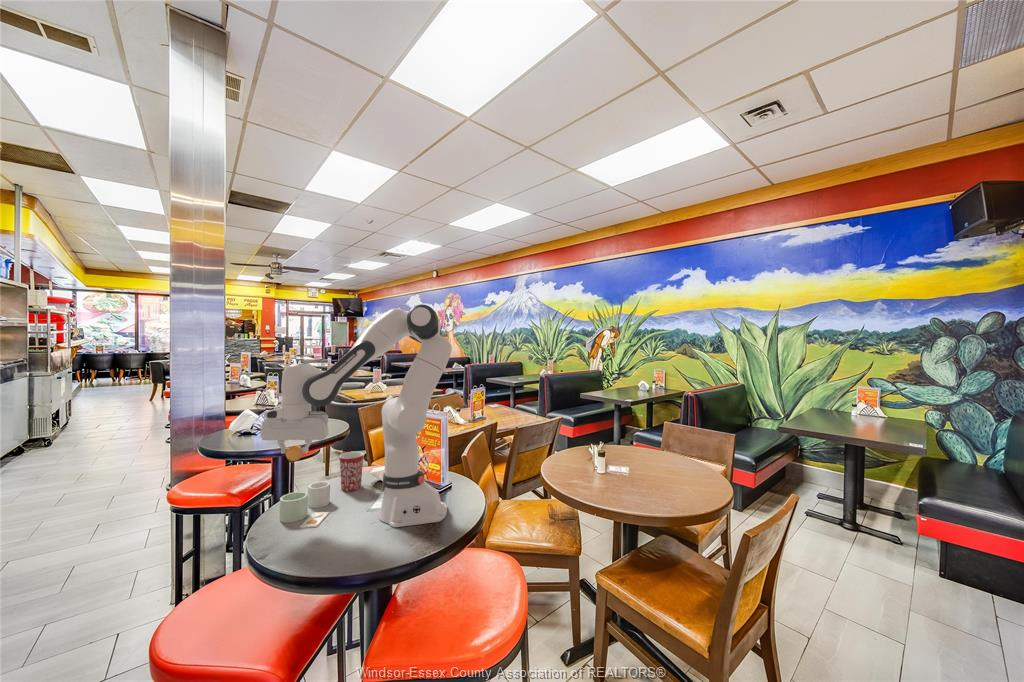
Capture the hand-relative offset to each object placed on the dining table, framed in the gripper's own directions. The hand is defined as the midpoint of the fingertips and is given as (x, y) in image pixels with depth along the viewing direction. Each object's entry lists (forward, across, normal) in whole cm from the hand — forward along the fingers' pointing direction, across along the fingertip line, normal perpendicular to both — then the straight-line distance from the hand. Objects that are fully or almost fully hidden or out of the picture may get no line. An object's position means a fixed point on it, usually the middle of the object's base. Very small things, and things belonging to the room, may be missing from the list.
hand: (294, 453), depth 123 cm
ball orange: (+2, 0, 0) cm, 3 cm away
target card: (+21, -8, +3) cm, 23 cm away
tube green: (+21, 0, 0) cm, 21 cm away
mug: (+21, -11, -26) cm, 35 cm away
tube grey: (+21, -4, -10) cm, 24 cm away
